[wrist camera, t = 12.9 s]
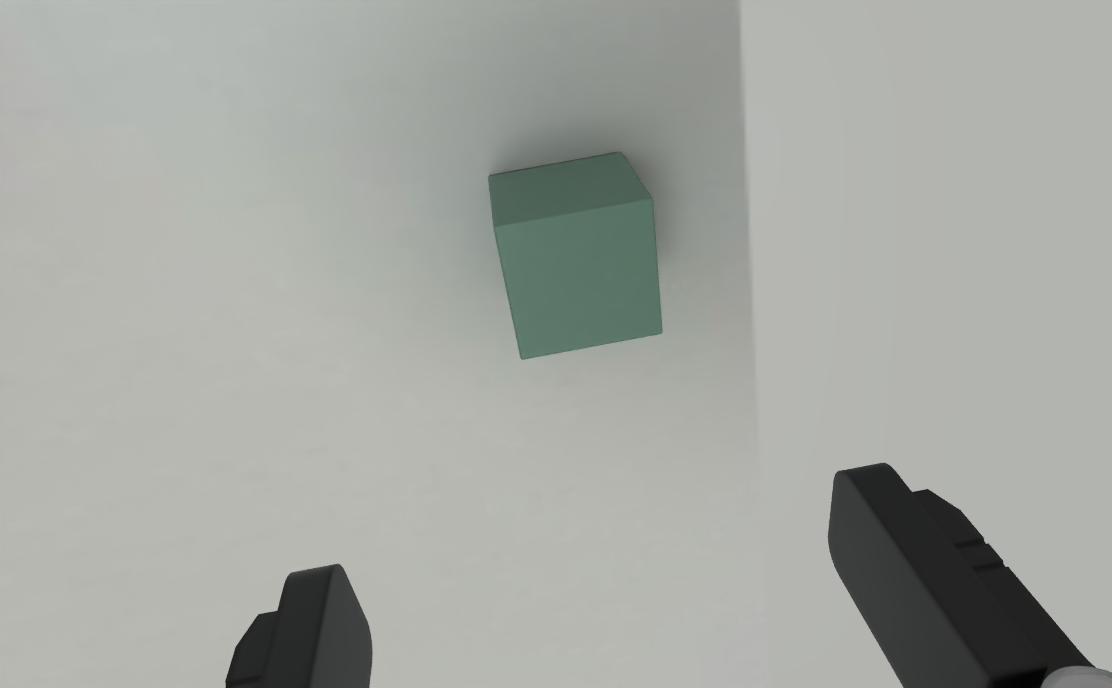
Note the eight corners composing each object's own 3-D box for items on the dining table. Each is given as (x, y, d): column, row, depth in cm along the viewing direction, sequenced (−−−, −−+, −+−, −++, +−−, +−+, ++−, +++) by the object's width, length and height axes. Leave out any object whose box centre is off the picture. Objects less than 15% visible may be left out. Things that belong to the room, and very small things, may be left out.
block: (621, 151, 24) (653, 197, 20) (632, 271, 26) (663, 334, 22) (487, 175, 24) (493, 226, 20) (512, 294, 26) (520, 360, 22)
